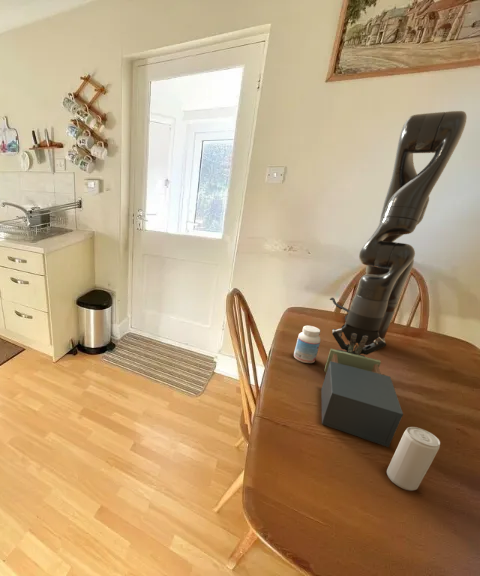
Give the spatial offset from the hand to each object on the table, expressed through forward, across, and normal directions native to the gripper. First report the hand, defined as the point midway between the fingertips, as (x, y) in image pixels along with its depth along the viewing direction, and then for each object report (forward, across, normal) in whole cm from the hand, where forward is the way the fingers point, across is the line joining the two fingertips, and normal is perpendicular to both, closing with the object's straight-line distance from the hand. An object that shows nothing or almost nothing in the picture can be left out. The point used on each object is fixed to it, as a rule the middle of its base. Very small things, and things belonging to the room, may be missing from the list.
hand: (349, 362), depth 95 cm
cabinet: (+4, 0, +21) cm, 21 cm away
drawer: (+3, 0, +8) cm, 8 cm away
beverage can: (+4, -7, +38) cm, 39 cm away
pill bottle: (+4, +11, -2) cm, 12 cm away
